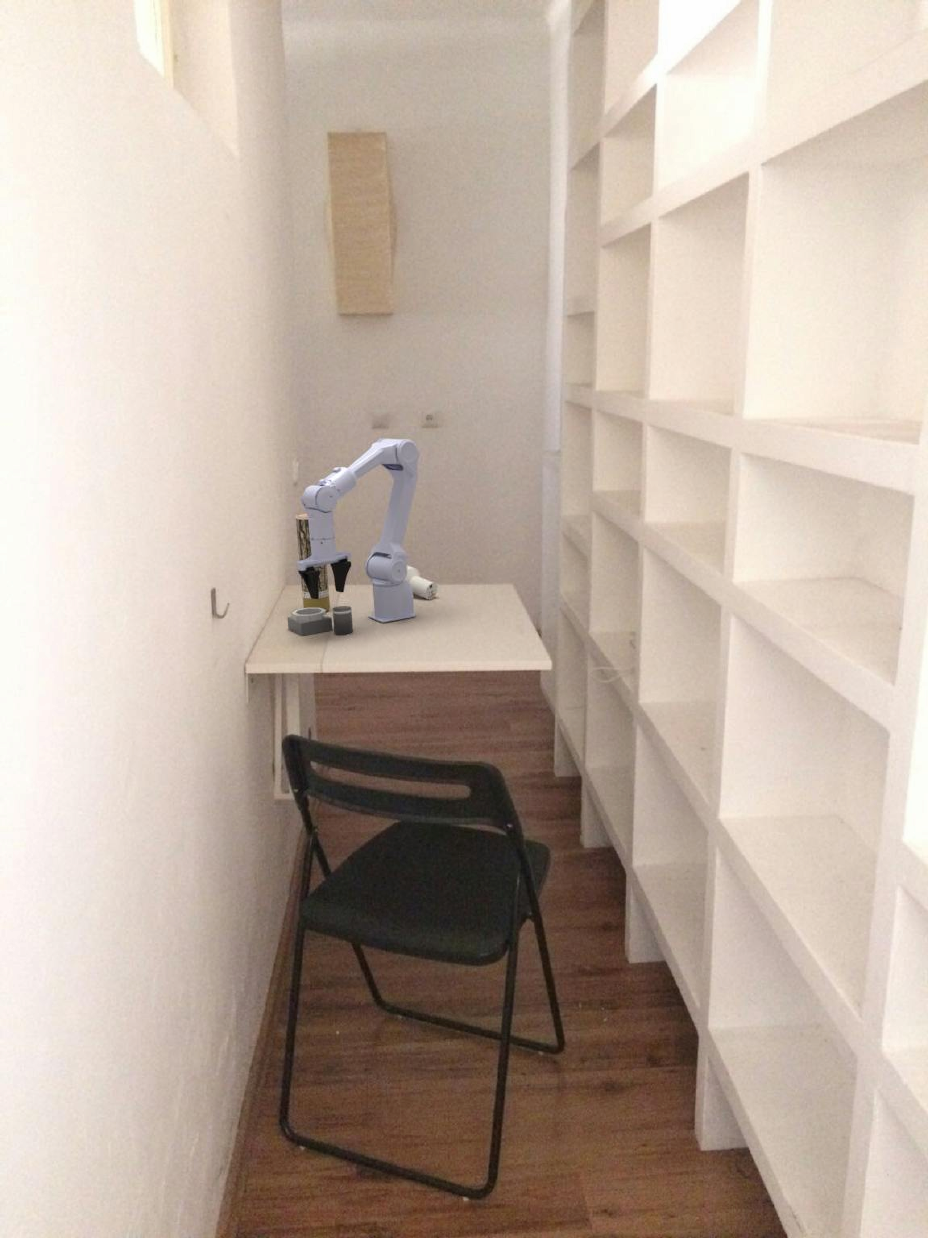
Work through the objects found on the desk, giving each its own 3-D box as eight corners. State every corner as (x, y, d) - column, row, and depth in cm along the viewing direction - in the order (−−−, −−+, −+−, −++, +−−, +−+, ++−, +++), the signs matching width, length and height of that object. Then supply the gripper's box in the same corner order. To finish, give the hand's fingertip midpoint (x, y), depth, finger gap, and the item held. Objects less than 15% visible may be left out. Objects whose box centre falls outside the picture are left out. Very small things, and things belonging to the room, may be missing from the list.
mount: (318, 623, 239) (317, 605, 238) (332, 630, 232) (331, 611, 231) (288, 629, 235) (286, 611, 234) (301, 636, 228) (300, 617, 227)
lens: (348, 629, 233) (346, 604, 231) (356, 633, 229) (354, 608, 227) (331, 632, 230) (329, 608, 229) (339, 636, 227) (337, 611, 225)
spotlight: (412, 586, 269) (411, 560, 265) (442, 599, 263) (441, 572, 259) (392, 597, 264) (390, 570, 260) (422, 610, 258) (421, 583, 253)
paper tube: (332, 607, 254) (325, 512, 248) (326, 614, 248) (319, 517, 241) (307, 608, 255) (299, 513, 249) (300, 614, 248) (292, 517, 242)
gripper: (335, 531, 231) (340, 586, 234) (286, 541, 221) (292, 599, 224) (355, 533, 226) (359, 590, 230) (305, 544, 216) (311, 603, 220)
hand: (327, 595), depth 227 cm, fingers open, 7 cm apart
